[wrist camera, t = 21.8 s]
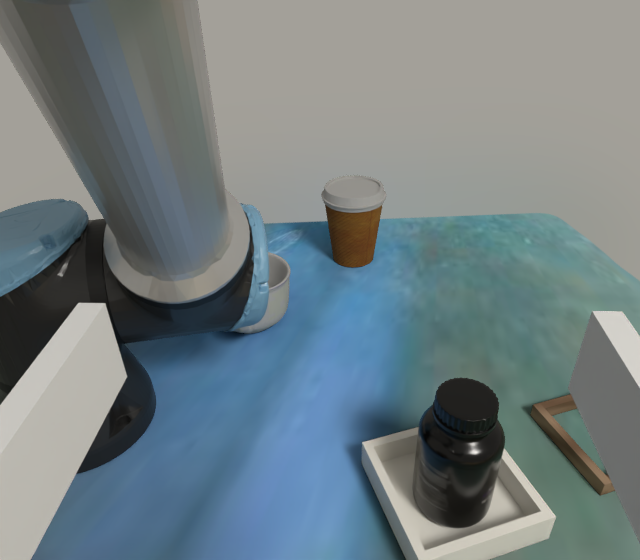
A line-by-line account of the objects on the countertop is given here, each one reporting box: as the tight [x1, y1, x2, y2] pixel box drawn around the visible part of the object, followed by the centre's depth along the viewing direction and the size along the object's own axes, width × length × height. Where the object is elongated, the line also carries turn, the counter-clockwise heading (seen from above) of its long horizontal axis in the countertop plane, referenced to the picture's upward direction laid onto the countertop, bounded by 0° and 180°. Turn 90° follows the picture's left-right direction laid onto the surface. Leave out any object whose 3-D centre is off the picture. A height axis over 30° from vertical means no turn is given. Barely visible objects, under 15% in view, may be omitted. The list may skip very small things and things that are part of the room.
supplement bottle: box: [412, 378, 505, 528], centre depth 44 cm, size 7×7×12 cm
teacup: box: [234, 252, 290, 333], centre depth 68 cm, size 14×11×8 cm
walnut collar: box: [530, 394, 615, 495], centre depth 52 cm, size 10×10×2 cm
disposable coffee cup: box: [322, 175, 386, 267], centre depth 81 cm, size 10×10×12 cm
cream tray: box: [362, 427, 556, 560], centre depth 47 cm, size 12×12×3 cm
